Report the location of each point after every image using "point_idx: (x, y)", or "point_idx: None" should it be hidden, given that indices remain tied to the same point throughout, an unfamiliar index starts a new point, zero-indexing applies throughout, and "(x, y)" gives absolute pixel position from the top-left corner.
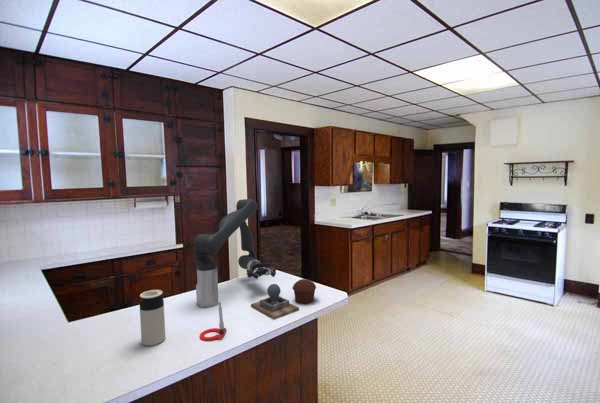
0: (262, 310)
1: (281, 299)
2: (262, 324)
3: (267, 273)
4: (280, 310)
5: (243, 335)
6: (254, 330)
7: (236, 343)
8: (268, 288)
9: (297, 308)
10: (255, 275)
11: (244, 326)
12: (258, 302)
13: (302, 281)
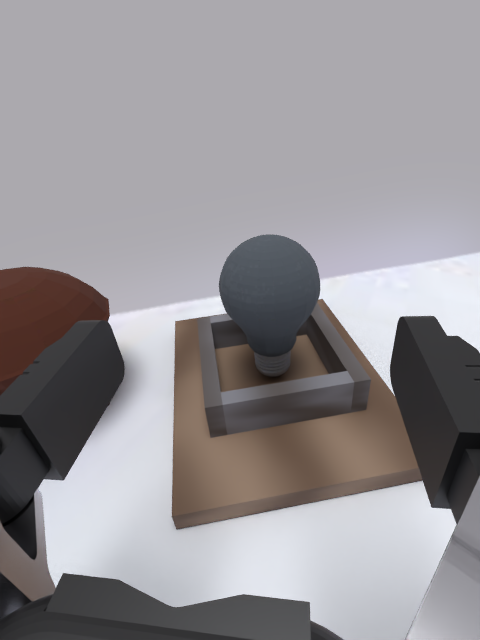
0: (361, 352)
1: (215, 355)
2: (378, 299)
3: (39, 585)
4: None
5: (457, 274)
6: (415, 283)
7: (477, 256)
8: (313, 260)
9: (185, 321)
10: (447, 336)
11: (461, 307)
12: (368, 463)
13: (28, 271)
